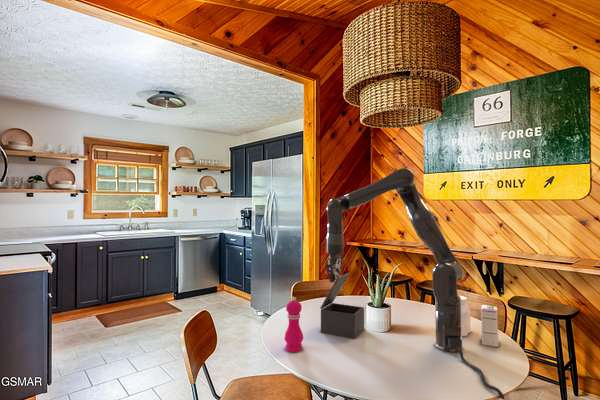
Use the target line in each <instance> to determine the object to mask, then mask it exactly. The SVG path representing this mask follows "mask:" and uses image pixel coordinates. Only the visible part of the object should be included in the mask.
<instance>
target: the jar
mask: <svg viewBox="0 0 600 400" xmlns="http://www.w3.org/2000/svg"><path fill="white" fill-rule="evenodd" d="M458 295H459V294H458ZM459 296H460V298H461V337H468V334H470V333H471V330H472V328H471V307H470V305H469V304H468V298H467V297H466V296H464V295H459Z"/></svg>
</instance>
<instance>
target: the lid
mask: <svg viewBox="0 0 600 400" xmlns="http://www.w3.org/2000/svg"><path fill="white" fill-rule="evenodd" d="M349 275H350V273H349V272H346V273H345V274H342V275H339V273H338V272H335V279H336V280H335V282H333V285H332V287H330V290H329V292H328V293H327V294H326V297H325V298H324V300H323V301H322V303H321V306H320V307H319V309H320V310H321V309H323V308H325V307H326V306H328V305H330V304H331V303H334V301H335V300H336V298H337V296H338V295H339V293H340V291H341V290H342V287H343V286H344V284H345V282H346V281H347V279H348V277H349ZM336 276H338V278H337V277H336Z"/></svg>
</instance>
